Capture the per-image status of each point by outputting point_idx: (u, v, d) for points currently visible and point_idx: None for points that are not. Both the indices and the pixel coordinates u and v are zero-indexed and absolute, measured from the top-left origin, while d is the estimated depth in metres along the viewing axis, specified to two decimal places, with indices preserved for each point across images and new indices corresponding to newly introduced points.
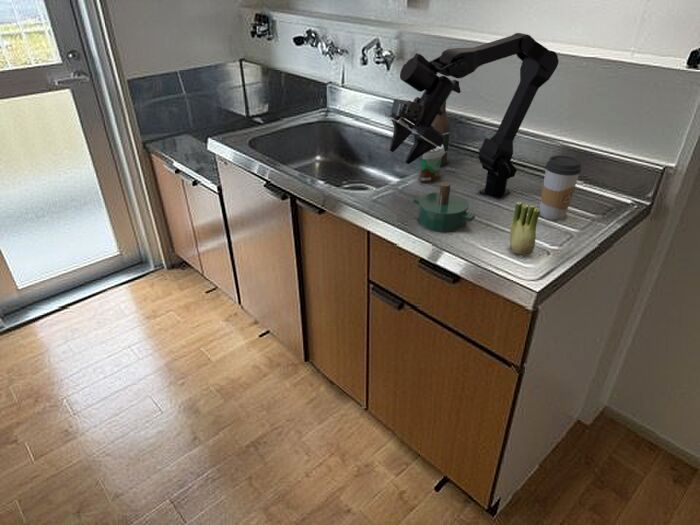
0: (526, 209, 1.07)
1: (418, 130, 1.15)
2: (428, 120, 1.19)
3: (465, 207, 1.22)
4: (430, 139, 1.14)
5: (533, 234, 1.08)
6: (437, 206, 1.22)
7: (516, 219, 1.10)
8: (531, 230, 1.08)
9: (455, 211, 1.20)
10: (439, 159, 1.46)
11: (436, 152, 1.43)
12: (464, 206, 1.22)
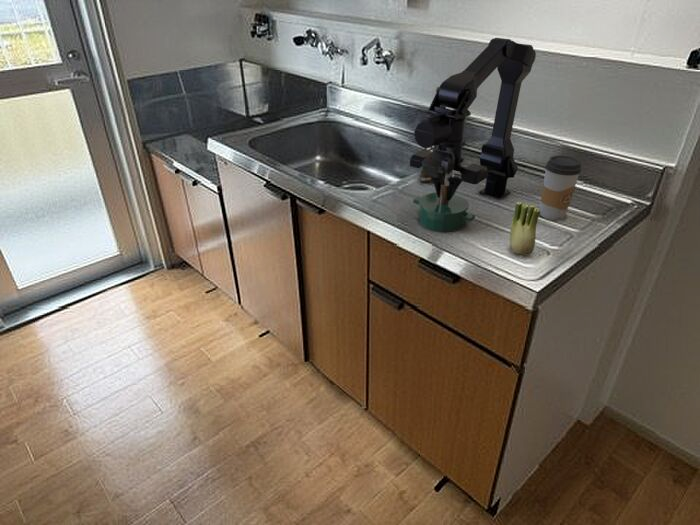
0: (526, 209, 1.07)
1: (463, 178, 1.14)
2: (459, 158, 1.16)
3: (465, 207, 1.22)
4: (480, 180, 1.13)
5: (533, 234, 1.08)
6: (437, 206, 1.22)
7: (516, 219, 1.10)
8: (531, 230, 1.08)
9: (455, 211, 1.20)
10: None
11: None
12: (464, 206, 1.22)
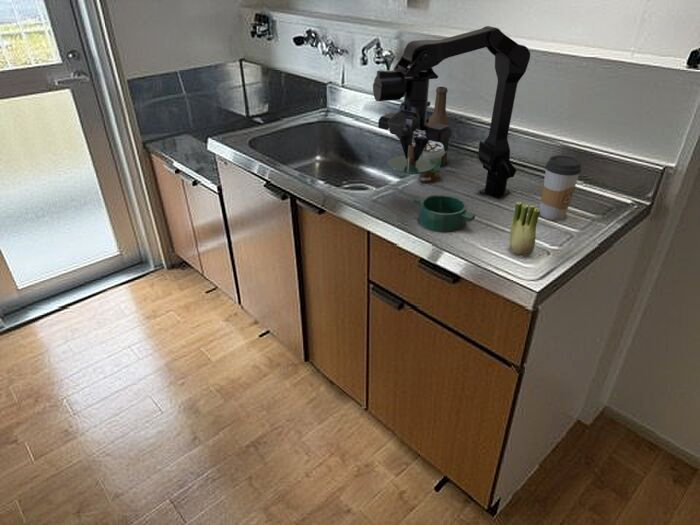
0: (526, 209, 1.07)
1: (428, 137, 1.18)
2: (424, 118, 1.21)
3: (431, 167, 1.26)
4: (443, 139, 1.18)
5: (533, 234, 1.08)
6: (405, 166, 1.27)
7: (516, 219, 1.10)
8: (531, 230, 1.08)
9: (421, 170, 1.24)
10: (439, 159, 1.46)
11: (436, 152, 1.43)
12: (431, 166, 1.27)
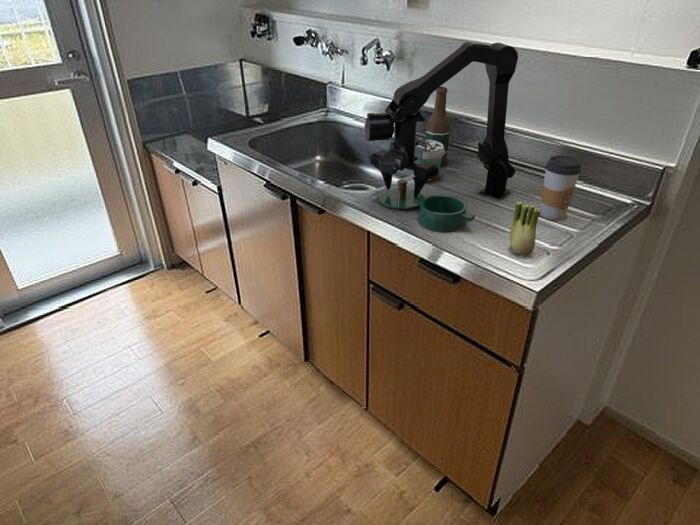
0: (526, 209, 1.07)
1: (416, 175, 1.26)
2: (413, 156, 1.28)
3: None
4: (430, 177, 1.26)
5: (533, 234, 1.08)
6: (395, 201, 1.34)
7: (516, 219, 1.10)
8: (531, 230, 1.08)
9: (411, 205, 1.32)
10: (439, 159, 1.46)
11: (436, 152, 1.43)
12: None
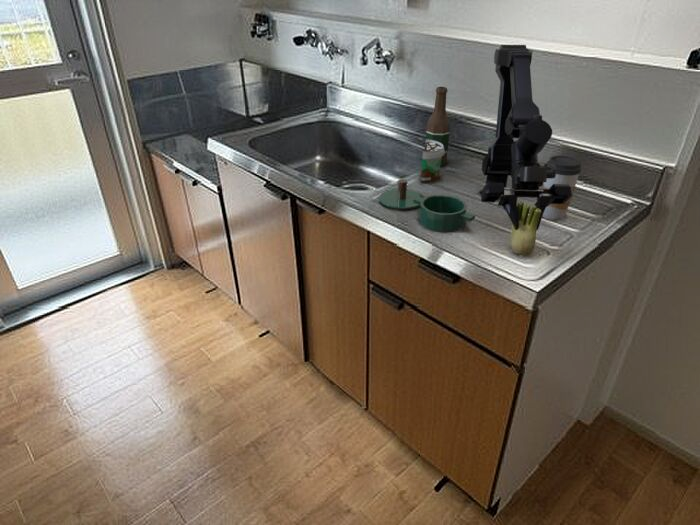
0: (527, 209, 1.07)
1: (559, 191, 1.07)
2: None
3: None
4: None
5: (534, 234, 1.08)
6: (395, 201, 1.34)
7: None
8: (531, 230, 1.08)
9: (411, 205, 1.32)
10: (439, 159, 1.46)
11: (436, 152, 1.43)
12: None
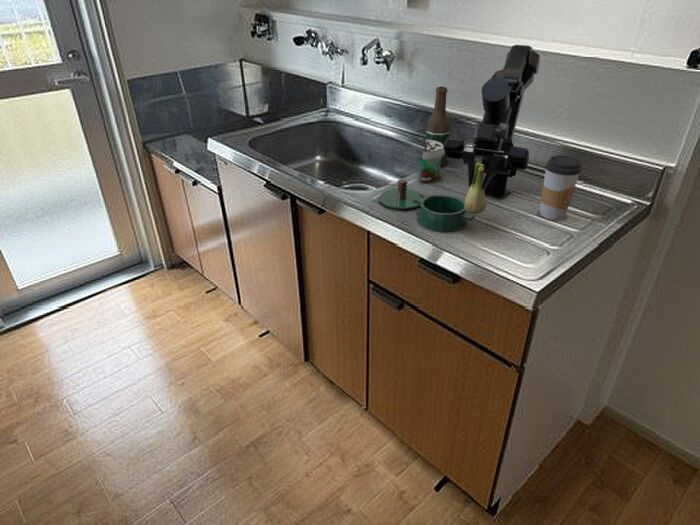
0: (477, 167, 1.10)
1: (512, 153, 1.07)
2: (501, 144, 1.12)
3: None
4: (527, 161, 1.08)
5: (476, 193, 1.11)
6: (395, 201, 1.34)
7: None
8: (475, 188, 1.11)
9: (411, 205, 1.32)
10: (439, 159, 1.46)
11: (436, 152, 1.43)
12: None
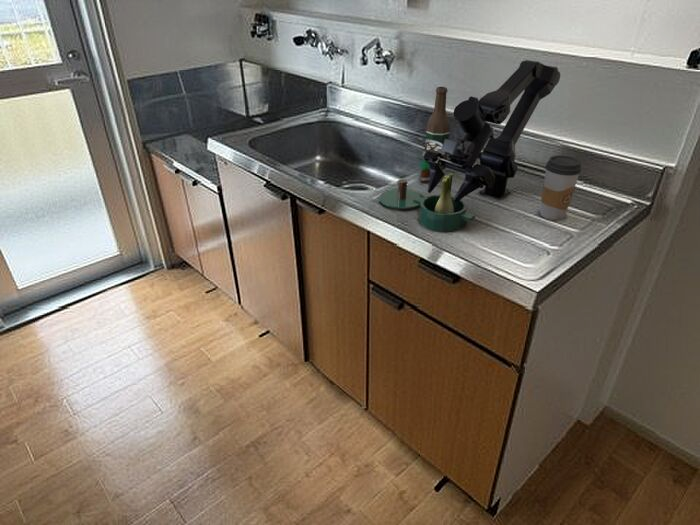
0: None
1: (474, 170, 1.16)
2: (473, 161, 1.21)
3: None
4: (487, 179, 1.16)
5: (440, 202, 1.22)
6: (395, 201, 1.34)
7: None
8: (440, 197, 1.22)
9: (411, 205, 1.32)
10: None
11: None
12: None
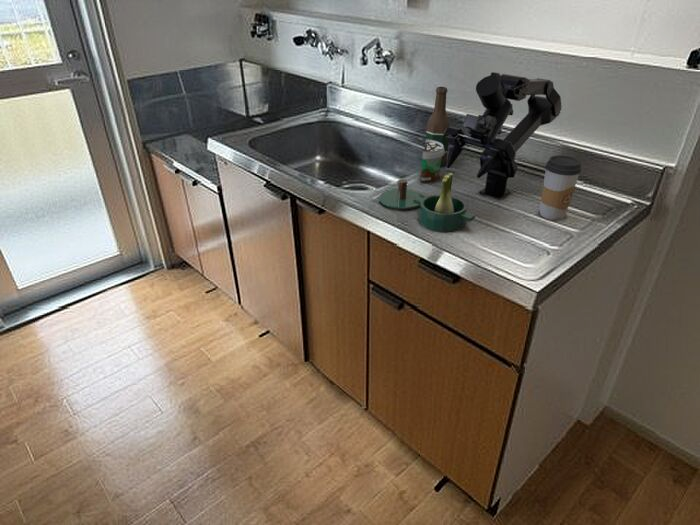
0: None
1: (496, 144, 1.18)
2: (494, 137, 1.23)
3: None
4: (509, 153, 1.18)
5: (440, 202, 1.22)
6: (395, 201, 1.34)
7: None
8: (440, 197, 1.22)
9: (411, 205, 1.32)
10: (439, 159, 1.46)
11: (436, 152, 1.43)
12: None
